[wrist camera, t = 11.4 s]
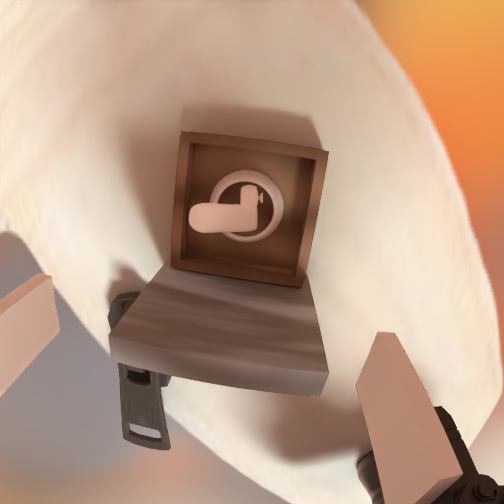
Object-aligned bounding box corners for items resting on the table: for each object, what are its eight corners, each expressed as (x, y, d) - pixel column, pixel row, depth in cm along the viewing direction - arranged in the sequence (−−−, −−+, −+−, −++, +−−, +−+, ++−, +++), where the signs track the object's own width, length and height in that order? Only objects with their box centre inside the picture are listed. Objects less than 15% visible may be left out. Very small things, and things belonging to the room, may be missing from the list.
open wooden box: (303, 297, 37) (319, 396, 22) (169, 277, 37) (112, 360, 22) (333, 152, 31) (386, 163, 16) (180, 131, 31) (105, 127, 16)
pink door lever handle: (150, 165, 27) (202, 154, 22) (238, 174, 36) (289, 170, 32) (150, 248, 28) (201, 256, 23) (237, 239, 37) (289, 243, 33)
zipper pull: (120, 441, 40) (87, 311, 32) (132, 413, 47) (111, 286, 38) (173, 454, 40) (160, 326, 32) (182, 424, 46) (176, 297, 38)
